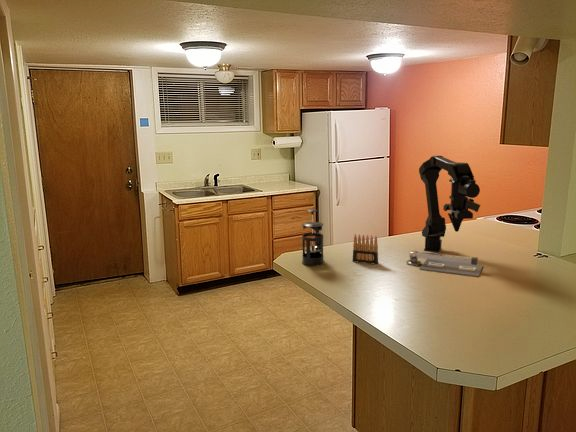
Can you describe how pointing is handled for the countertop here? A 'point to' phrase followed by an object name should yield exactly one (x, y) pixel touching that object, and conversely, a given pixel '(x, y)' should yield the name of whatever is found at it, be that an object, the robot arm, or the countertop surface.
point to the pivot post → (413, 262)
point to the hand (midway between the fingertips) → (456, 231)
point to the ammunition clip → (365, 250)
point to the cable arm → (444, 257)
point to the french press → (316, 252)
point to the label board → (452, 267)
